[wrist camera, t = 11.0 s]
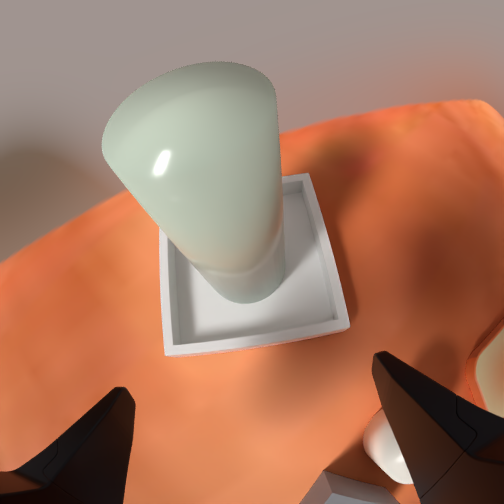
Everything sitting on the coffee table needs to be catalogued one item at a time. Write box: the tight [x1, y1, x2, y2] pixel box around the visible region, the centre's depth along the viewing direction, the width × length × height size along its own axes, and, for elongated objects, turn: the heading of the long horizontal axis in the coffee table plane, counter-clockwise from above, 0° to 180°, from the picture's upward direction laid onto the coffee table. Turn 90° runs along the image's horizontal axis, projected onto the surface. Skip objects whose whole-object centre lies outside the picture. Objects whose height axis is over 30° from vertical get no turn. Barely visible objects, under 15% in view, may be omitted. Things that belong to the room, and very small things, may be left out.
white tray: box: [159, 173, 350, 357], centre depth 19 cm, size 11×11×2 cm
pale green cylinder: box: [102, 62, 286, 304], centre depth 13 cm, size 5×5×13 cm
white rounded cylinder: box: [363, 409, 413, 484], centre depth 12 cm, size 4×4×4 cm
